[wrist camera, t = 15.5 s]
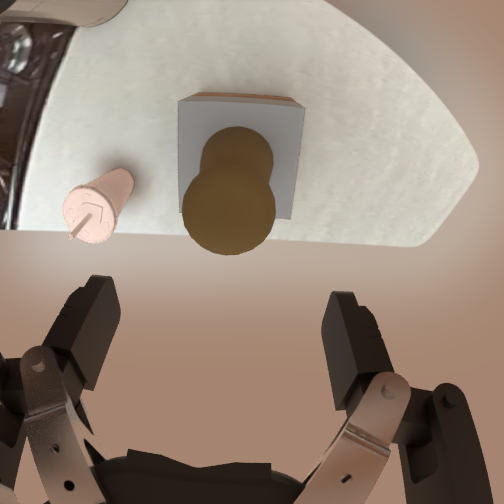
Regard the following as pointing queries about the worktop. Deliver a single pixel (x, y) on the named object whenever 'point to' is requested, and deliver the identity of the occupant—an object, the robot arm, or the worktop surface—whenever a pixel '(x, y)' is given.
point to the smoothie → (97, 206)
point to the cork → (231, 193)
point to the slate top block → (250, 116)
